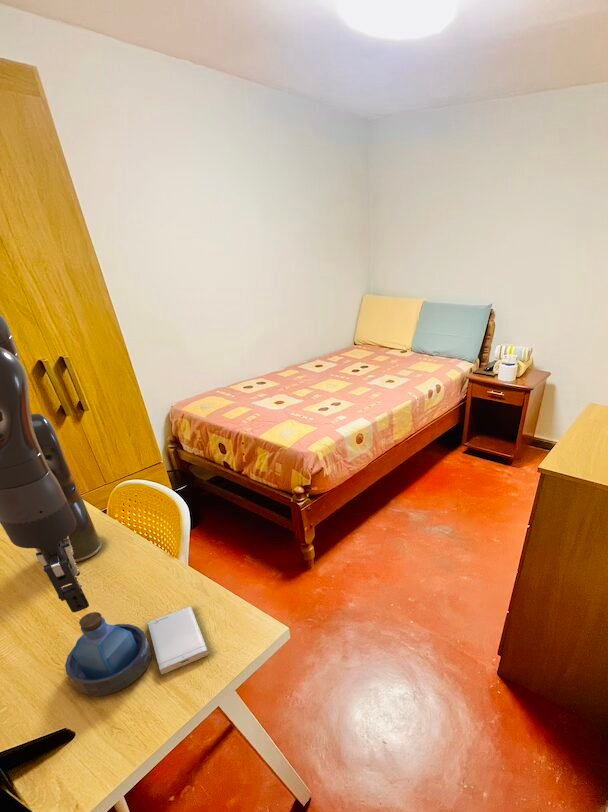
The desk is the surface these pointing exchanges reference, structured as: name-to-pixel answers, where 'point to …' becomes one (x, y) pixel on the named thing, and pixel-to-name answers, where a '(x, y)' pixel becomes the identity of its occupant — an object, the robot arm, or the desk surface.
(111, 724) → the desk surface
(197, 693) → the desk surface
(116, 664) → the perfume bottle
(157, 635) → the hard drive
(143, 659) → the bowl
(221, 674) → the desk surface
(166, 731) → the desk surface
